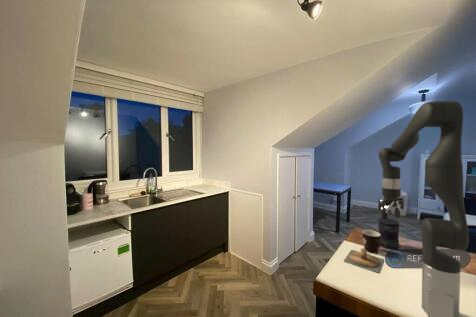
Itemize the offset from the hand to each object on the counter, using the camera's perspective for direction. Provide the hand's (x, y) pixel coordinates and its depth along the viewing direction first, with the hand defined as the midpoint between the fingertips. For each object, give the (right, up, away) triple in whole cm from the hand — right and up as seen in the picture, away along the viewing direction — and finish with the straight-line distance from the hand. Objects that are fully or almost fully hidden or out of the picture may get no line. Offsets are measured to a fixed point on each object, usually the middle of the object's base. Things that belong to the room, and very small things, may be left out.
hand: (391, 218), depth 101 cm
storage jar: (+11, -21, +16) cm, 29 cm away
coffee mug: (-3, -22, +10) cm, 24 cm away
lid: (-13, -22, +1) cm, 25 cm away
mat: (-13, -22, +1) cm, 26 cm away
